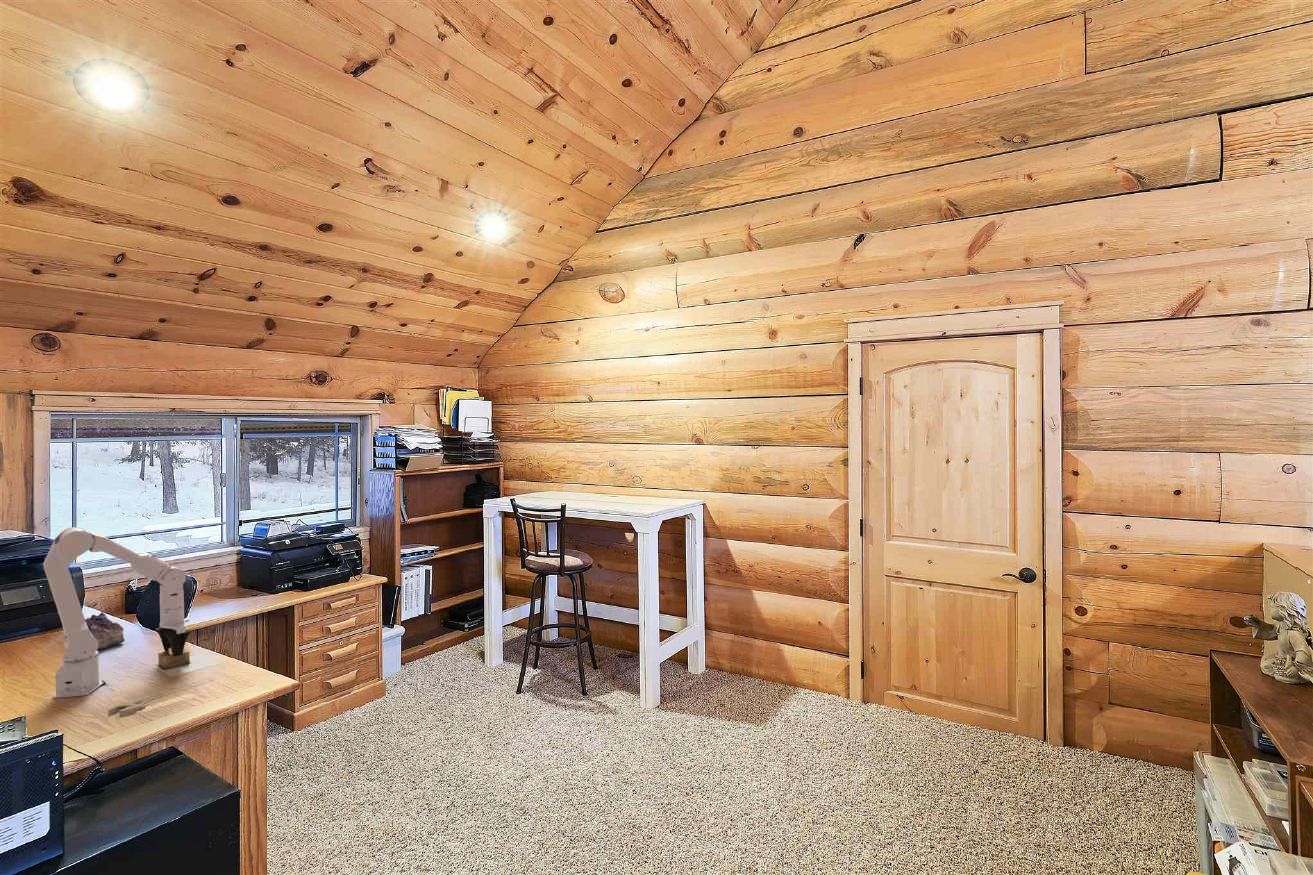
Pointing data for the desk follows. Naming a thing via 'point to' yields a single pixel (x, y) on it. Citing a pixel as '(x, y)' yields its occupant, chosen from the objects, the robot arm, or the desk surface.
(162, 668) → the post
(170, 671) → the board
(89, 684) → the robot arm
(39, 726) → the desk surface
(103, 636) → the geode
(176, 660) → the collar
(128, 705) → the adjustable wrench
